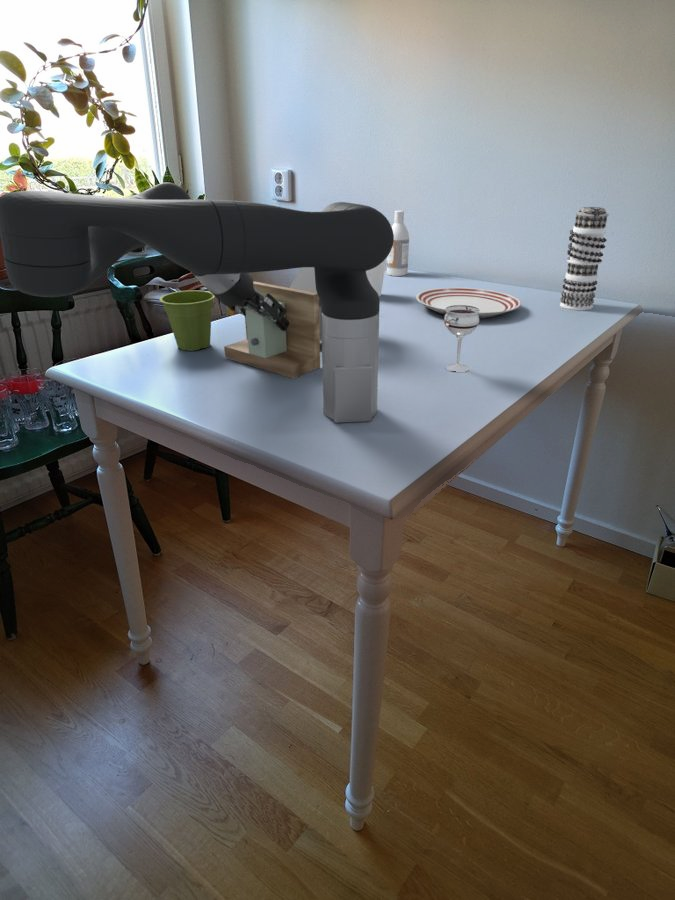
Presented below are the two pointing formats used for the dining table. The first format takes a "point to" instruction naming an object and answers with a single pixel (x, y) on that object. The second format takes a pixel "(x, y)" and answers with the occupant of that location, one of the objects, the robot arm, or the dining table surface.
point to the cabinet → (264, 335)
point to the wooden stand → (287, 334)
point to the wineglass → (461, 327)
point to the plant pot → (190, 317)
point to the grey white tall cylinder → (584, 258)
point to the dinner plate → (469, 300)
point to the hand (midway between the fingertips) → (271, 323)
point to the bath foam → (399, 248)
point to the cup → (377, 277)
